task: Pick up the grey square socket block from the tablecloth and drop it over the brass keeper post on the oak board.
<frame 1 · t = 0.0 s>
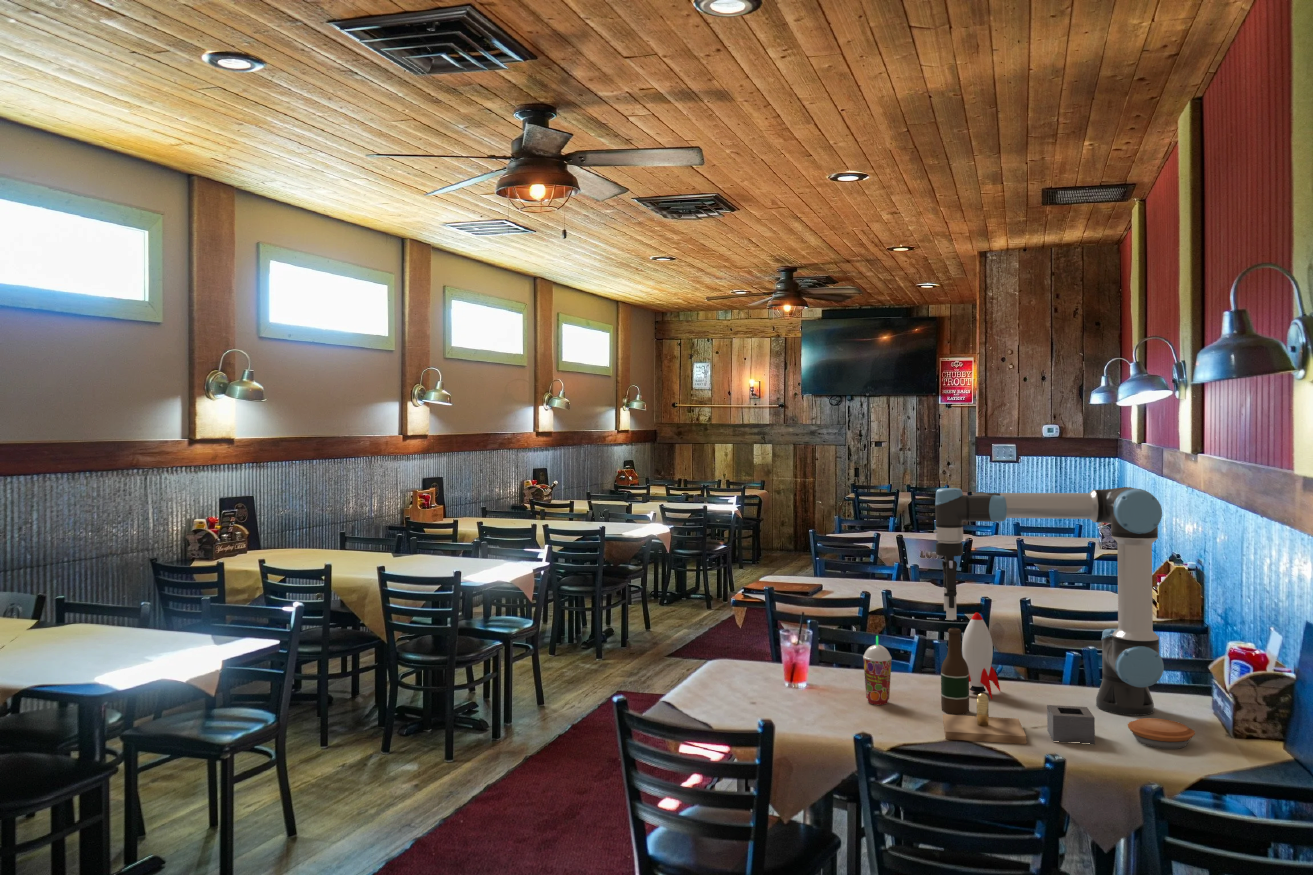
hand: (950, 614, 279), 28 cm above the table, fingers open, 13 cm apart
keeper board: (982, 732, 259), on the table
grey square socket block: (1070, 737, 254), on the table
keeper post: (982, 724, 259), resting on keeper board
beer bottle: (955, 711, 279), on the table
pie: (1160, 743, 250), on the table
rocket: (977, 693, 299), on the table
smoothie: (877, 702, 289), on the table
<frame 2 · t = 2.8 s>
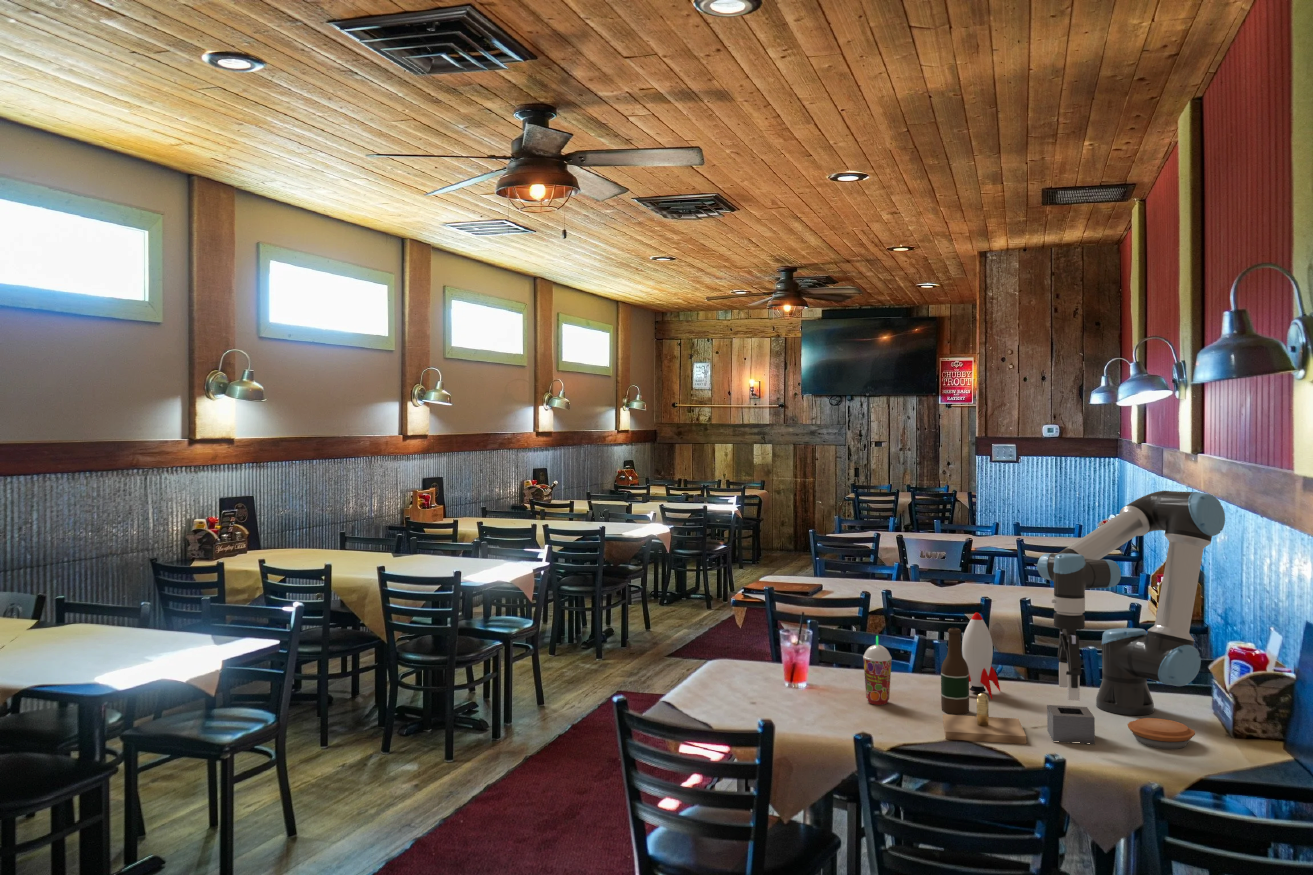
hand: (1069, 693, 254), 12 cm above the table, fingers open, 13 cm apart
nothing on the table moved.
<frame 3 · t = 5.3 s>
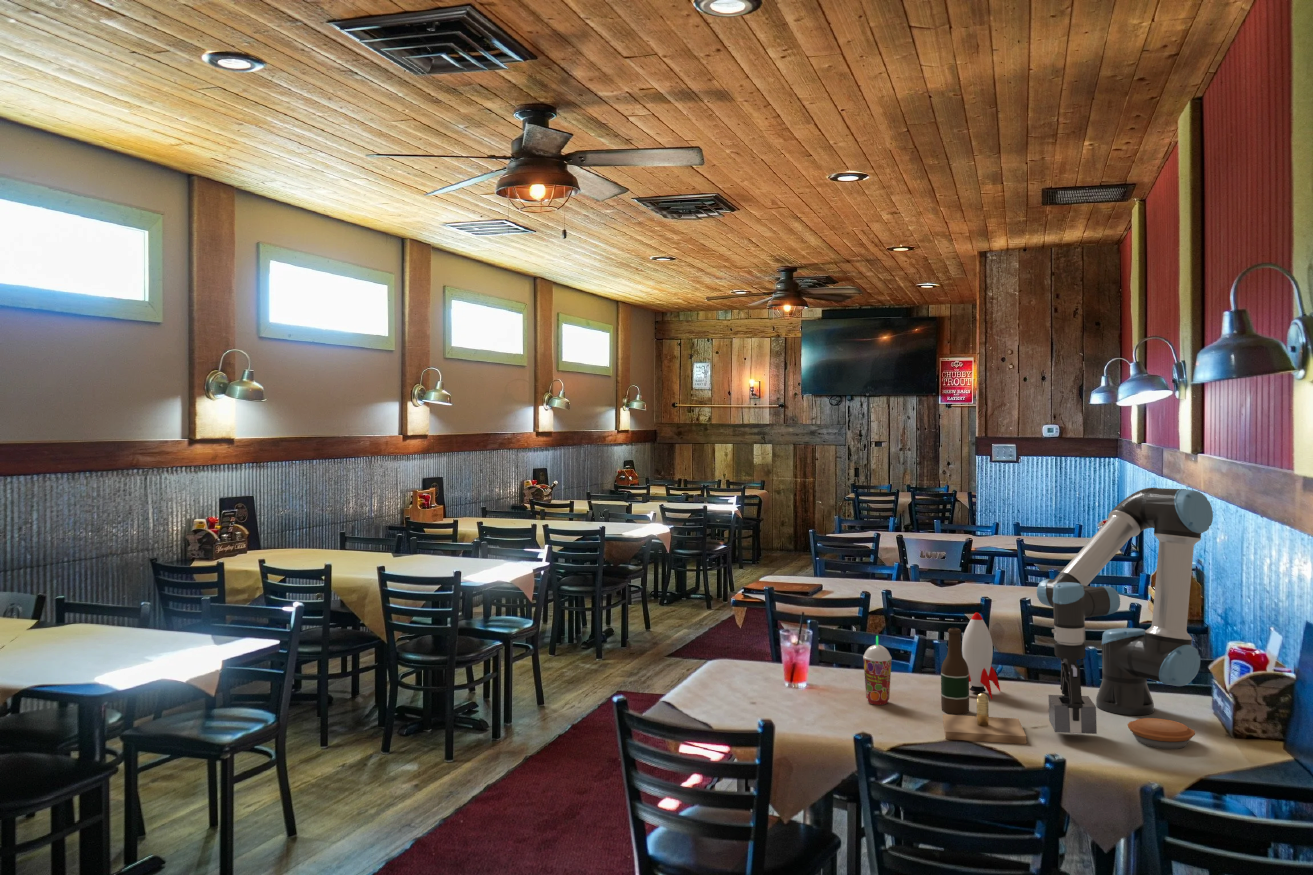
hand: (1071, 725, 254), 3 cm above the table, fingers closed on grey square socket block, 10 cm apart
grey square socket block: (1072, 726, 254), point 3 cm above the table, touching gripper
everything else where it was.
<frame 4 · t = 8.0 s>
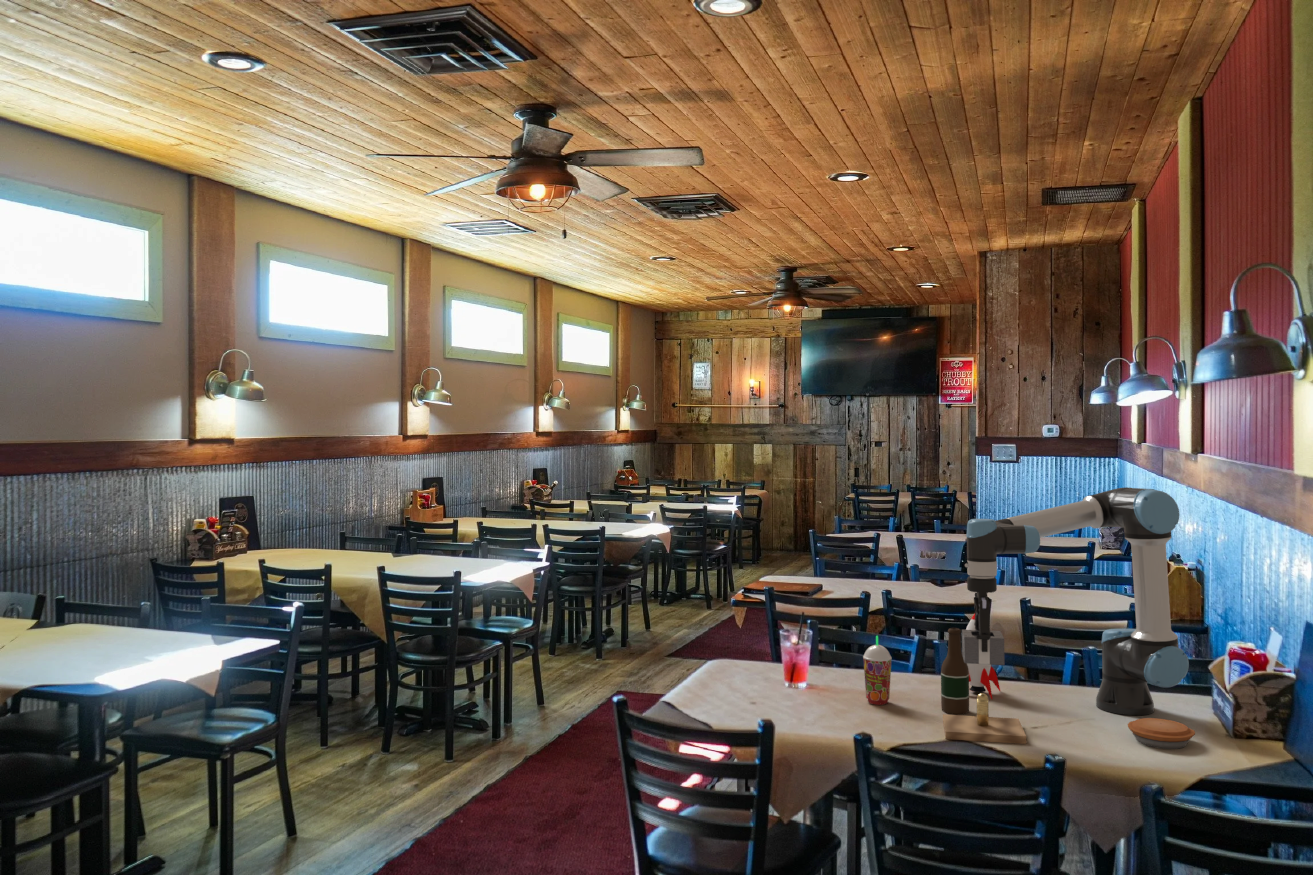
hand: (982, 658, 259), 20 cm above the table, fingers closed on grey square socket block, 10 cm apart
grey square socket block: (982, 659, 259), point 20 cm above the table, touching gripper
everything else where it was.
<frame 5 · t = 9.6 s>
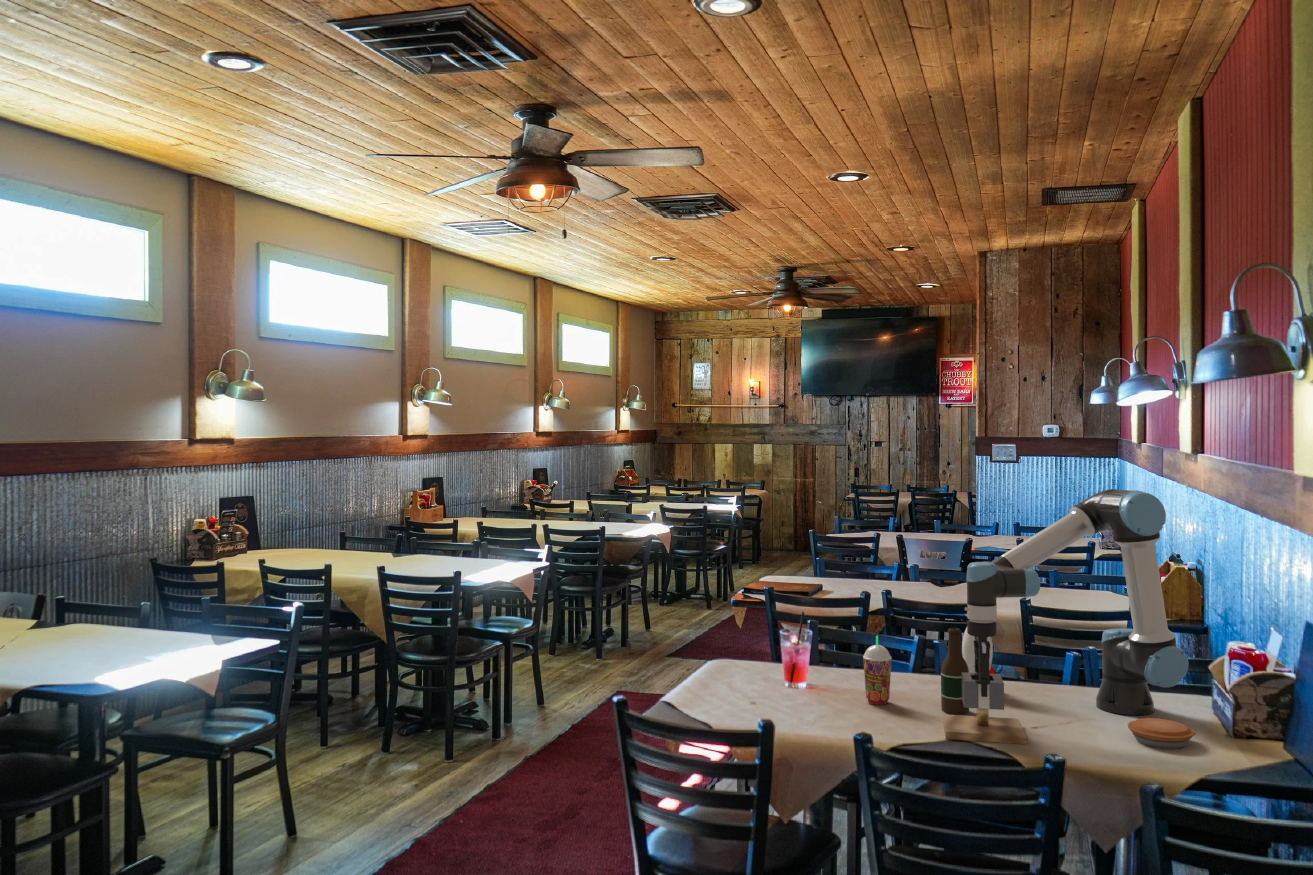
hand: (982, 702, 259), 8 cm above the table, fingers closed on grey square socket block, 10 cm apart
grey square socket block: (982, 703, 259), point 8 cm above the table, touching gripper
everything else where it was.
when the fingers open (5 cm above the table, at t = 10.8 s): grey square socket block drops 2 cm, resting on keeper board.
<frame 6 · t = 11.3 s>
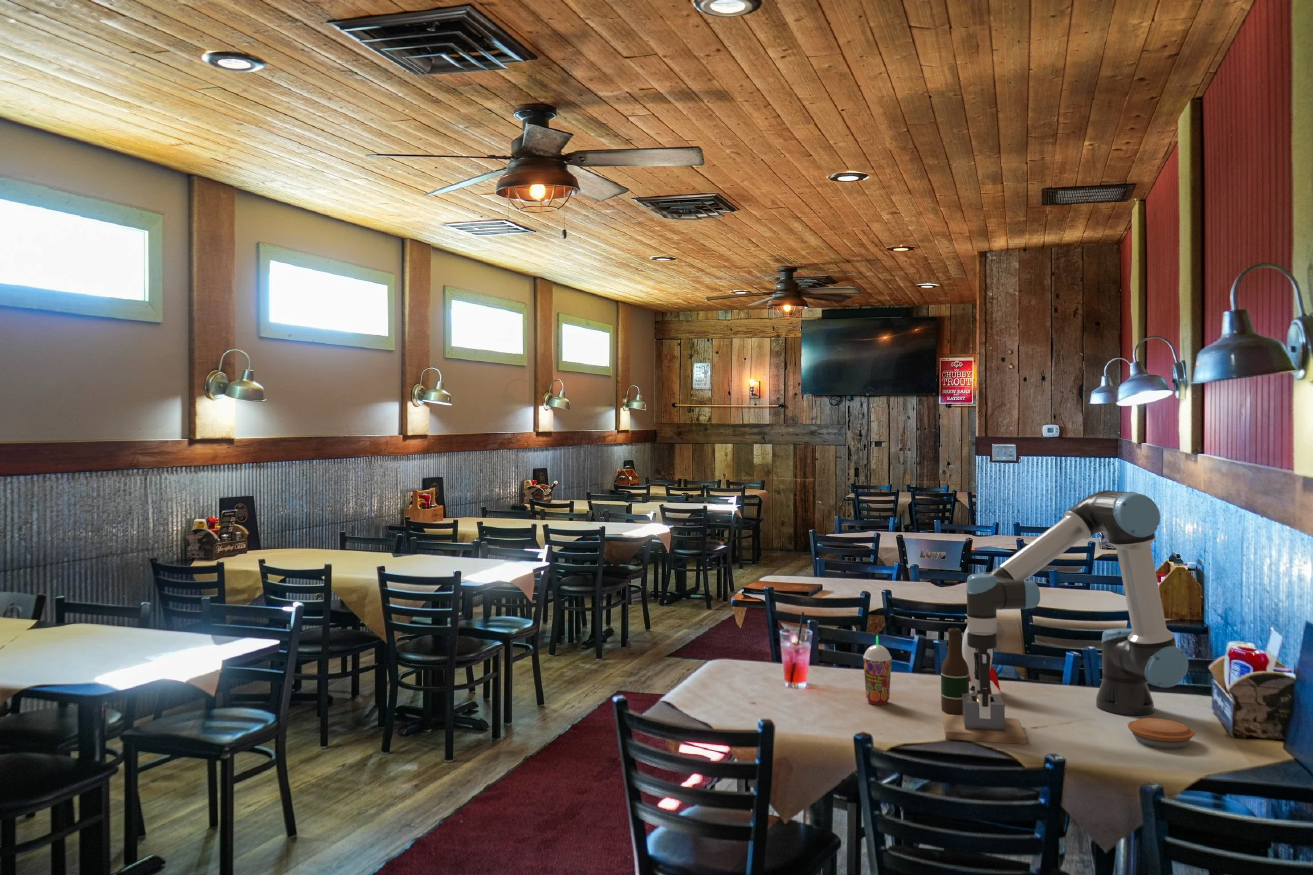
hand: (982, 711, 259), 6 cm above the table, fingers open, 13 cm apart
grey square socket block: (983, 724, 259), point 2 cm above the table, touching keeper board
everything else where it was.
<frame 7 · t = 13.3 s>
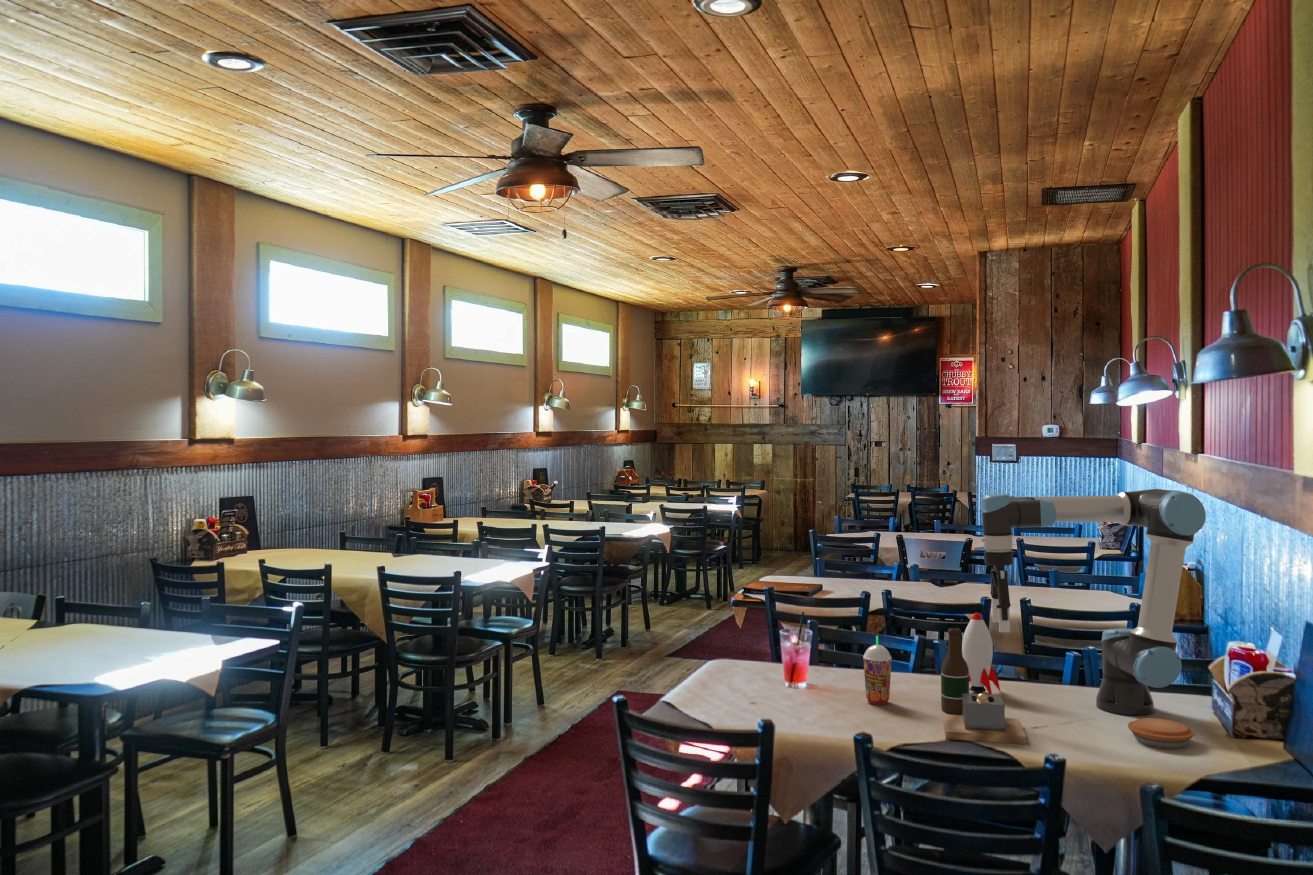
hand: (1001, 626, 266), 27 cm above the table, fingers open, 13 cm apart
nothing on the table moved.
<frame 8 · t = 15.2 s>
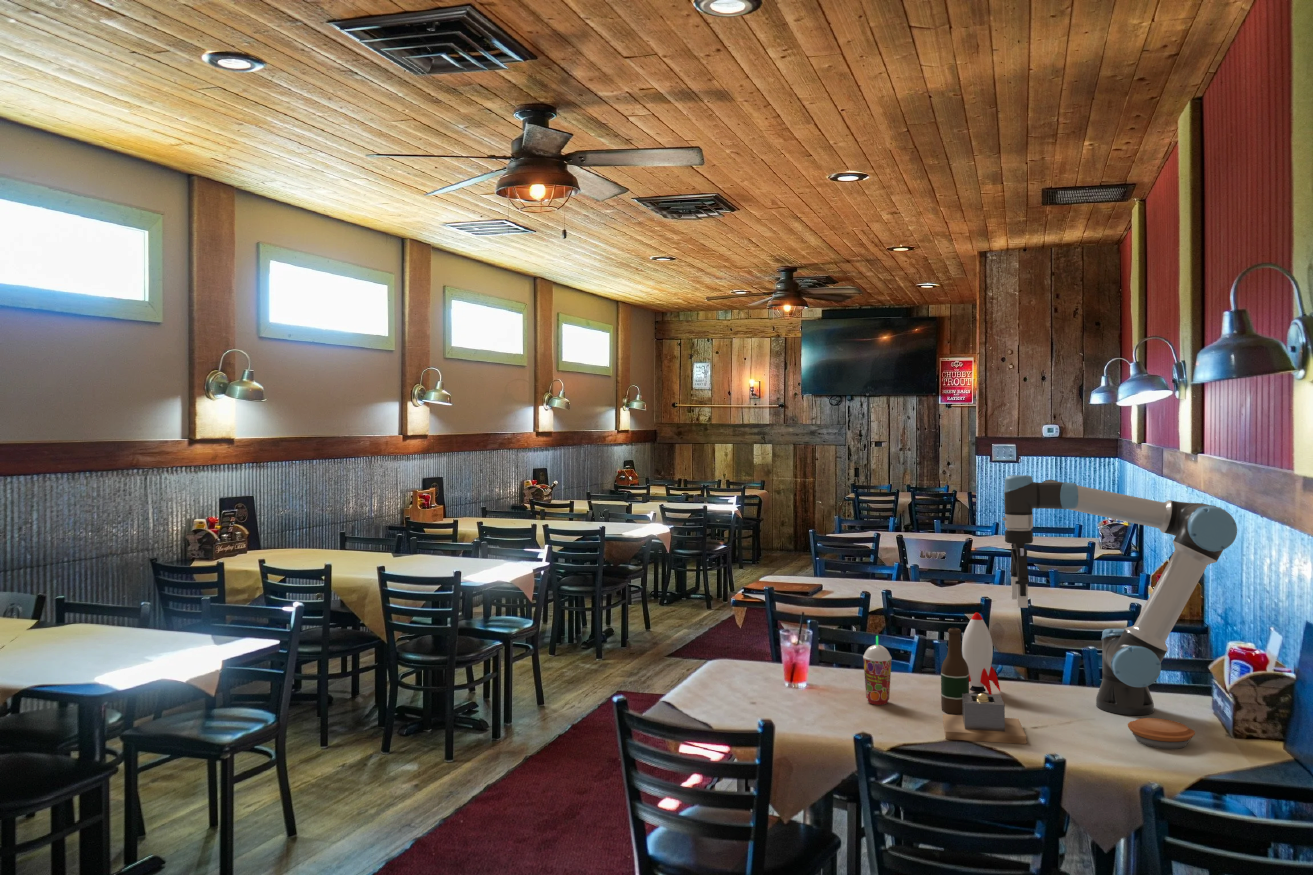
hand: (1019, 603, 276), 32 cm above the table, fingers open, 13 cm apart
nothing on the table moved.
at the end: grey square socket block 0.1 cm off-centre on the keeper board, point 2.0 cm above the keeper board's base; grey square socket block tilted 0°; the gripper is holding nothing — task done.
